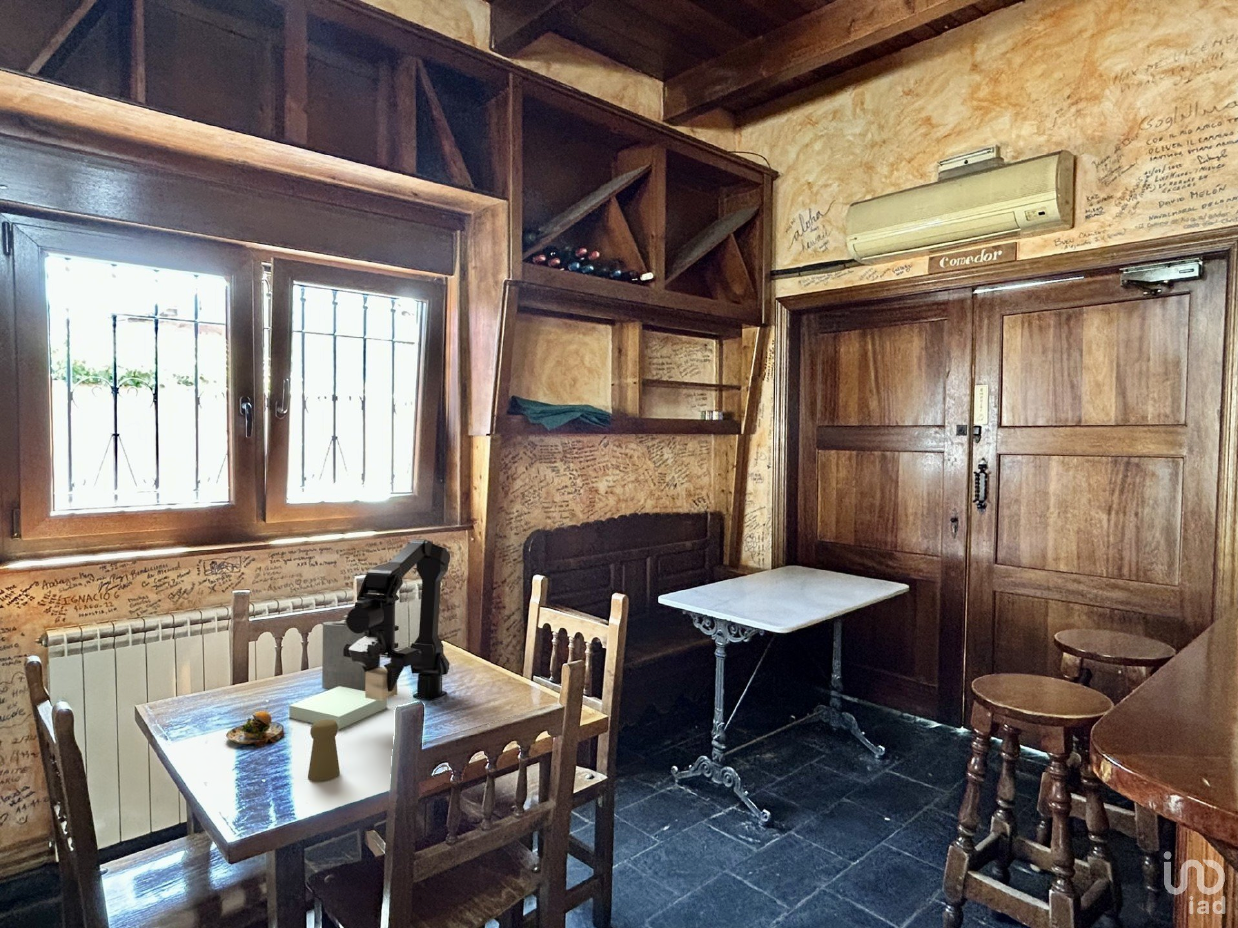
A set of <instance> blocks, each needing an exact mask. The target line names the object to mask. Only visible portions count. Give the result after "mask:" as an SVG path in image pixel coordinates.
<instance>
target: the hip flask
mask: <svg viewBox="0 0 1238 928" xmlns="http://www.w3.org/2000/svg"><path fill="white" fill-rule="evenodd" d="M347 615H348V614H346V615H343V621H325V622H323V623H322V657H321V658H322V663H321V664H322V665H321V666H322V667H321V668H322V669H321V670H322V673H321V674H322V675H321V676H322V677H321V679H322V680H321V685H322V686H321V688H323V689H328V690H331V689H333V688H336V687H338V686H341V687H346V688H351V689H356V690H361V691H365V679H366V674H365V671H364V669H363V667H362V666H361V665H360V664H359V663H358V662H353V661H352V659H351V658H350V657H344V656H343V648H344V647H345V645H346V644H347V643H350V642H354V641H357V640H359V639H362V638H363V637H364V632H363V633H359V634H357V633H354V632H352V631H351V630H350V629H349V628H348V626H347V623H346V617H347ZM380 666H381V658H380V659H379V666H378V667H380Z"/></svg>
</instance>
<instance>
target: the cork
mask: <svg viewBox="0 0 1238 928" xmlns="http://www.w3.org/2000/svg"><path fill="white" fill-rule="evenodd" d="M338 731H339V729H338V724H337V723H336V721H334V720H331V719H324V720H319V721H317V722H315V723H312V725H311V727H310V734H309V735H310V736H311V738H312V747H311V752H310V753H311V754H310V759H309V766H308V772H307V773H308V774H307V779H308V780H309V782H314V783H323V782H324V783H325V782H330V781H332V780H334V779H336V778H338V777H339V776H340V774H341V771H340V764H339V756H338V749H337V748H338V747H337V741H336V740H337V739H336V736H337V735H338Z"/></svg>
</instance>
